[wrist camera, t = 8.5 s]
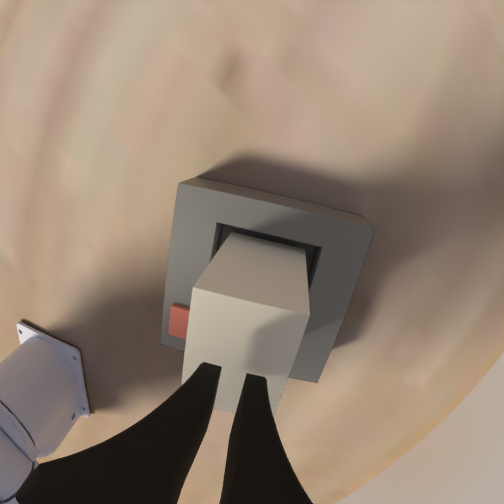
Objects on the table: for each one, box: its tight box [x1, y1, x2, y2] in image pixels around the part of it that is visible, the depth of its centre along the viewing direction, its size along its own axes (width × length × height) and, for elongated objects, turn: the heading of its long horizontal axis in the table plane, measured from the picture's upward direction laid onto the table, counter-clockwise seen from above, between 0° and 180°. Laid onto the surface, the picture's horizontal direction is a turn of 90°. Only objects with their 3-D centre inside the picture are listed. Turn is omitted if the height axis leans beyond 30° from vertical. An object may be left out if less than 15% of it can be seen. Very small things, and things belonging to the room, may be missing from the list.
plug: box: [181, 232, 310, 416], centre depth 15 cm, size 4×6×8 cm
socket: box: [160, 177, 374, 383], centre depth 19 cm, size 10×10×3 cm
